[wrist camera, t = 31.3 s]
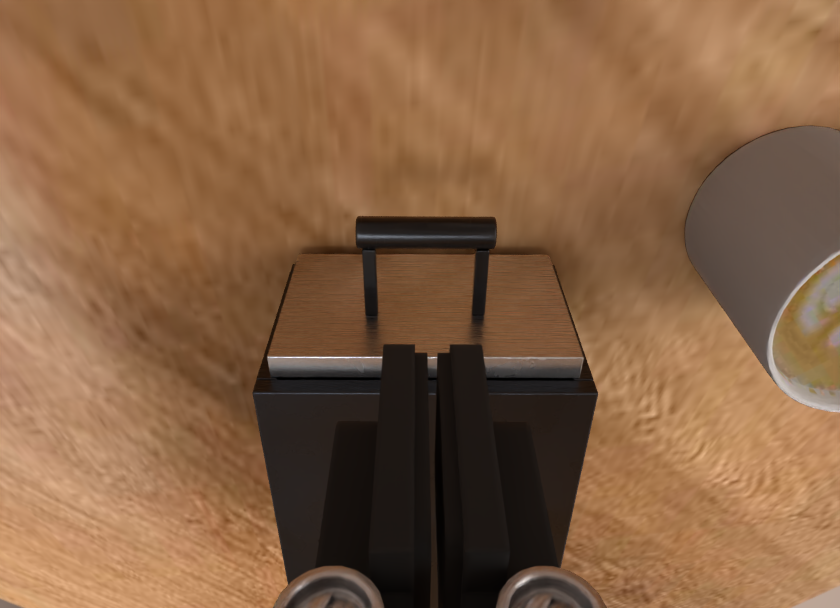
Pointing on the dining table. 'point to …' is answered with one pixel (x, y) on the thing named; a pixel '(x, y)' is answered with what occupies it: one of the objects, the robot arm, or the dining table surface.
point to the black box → (359, 401)
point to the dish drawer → (423, 305)
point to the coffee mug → (778, 255)
